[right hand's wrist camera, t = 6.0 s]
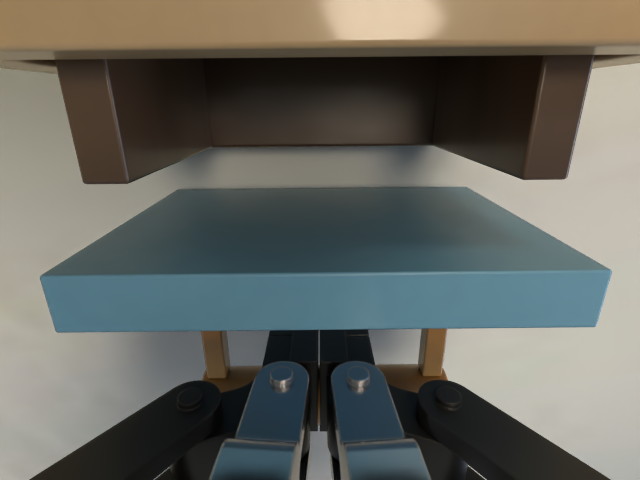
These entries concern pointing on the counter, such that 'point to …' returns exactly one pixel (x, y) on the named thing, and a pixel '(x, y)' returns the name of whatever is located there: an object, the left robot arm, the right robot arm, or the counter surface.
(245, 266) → the drawer
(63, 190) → the counter surface
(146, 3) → the cabinet
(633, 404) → the counter surface
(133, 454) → the right robot arm
